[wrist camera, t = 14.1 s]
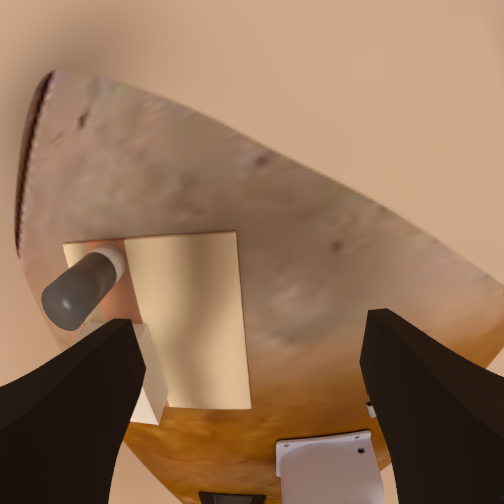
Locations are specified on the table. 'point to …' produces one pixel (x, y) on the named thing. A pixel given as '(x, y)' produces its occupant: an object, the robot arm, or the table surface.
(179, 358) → the panel
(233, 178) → the table surface
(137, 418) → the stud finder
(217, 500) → the phone stand
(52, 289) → the grey capped cylinder
